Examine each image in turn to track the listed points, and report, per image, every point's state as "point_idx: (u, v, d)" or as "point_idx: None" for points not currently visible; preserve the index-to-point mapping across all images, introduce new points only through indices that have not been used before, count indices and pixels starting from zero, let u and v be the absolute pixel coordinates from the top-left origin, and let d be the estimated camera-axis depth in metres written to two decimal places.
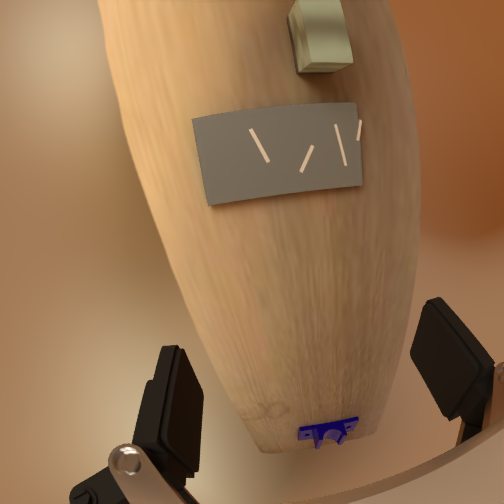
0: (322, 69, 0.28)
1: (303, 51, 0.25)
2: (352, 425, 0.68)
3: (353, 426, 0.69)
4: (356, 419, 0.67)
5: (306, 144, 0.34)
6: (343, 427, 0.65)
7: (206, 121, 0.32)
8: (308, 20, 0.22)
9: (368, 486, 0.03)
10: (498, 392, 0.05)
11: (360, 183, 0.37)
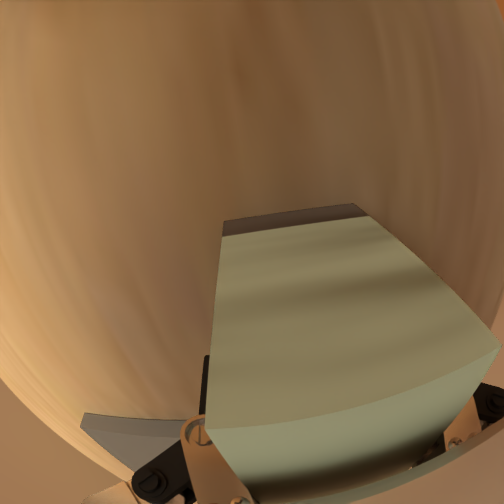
0: None
1: None
2: None
3: None
4: None
5: None
6: None
7: (101, 434, 0.15)
8: (271, 485, 0.05)
9: (368, 486, 0.03)
10: None
11: None
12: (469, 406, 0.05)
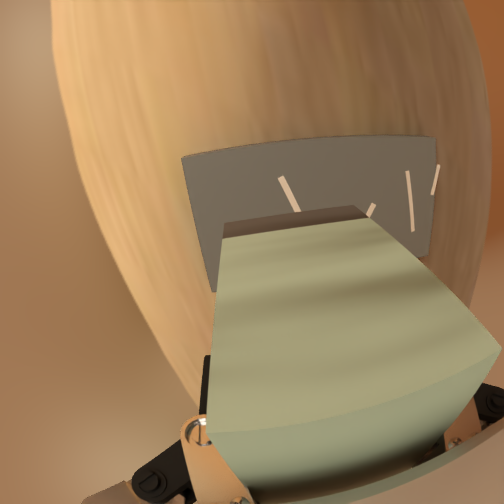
0: None
1: None
2: None
3: None
4: None
5: (365, 202, 0.22)
6: None
7: (206, 162, 0.20)
8: (271, 487, 0.05)
9: (368, 486, 0.03)
10: None
11: (426, 253, 0.24)
12: (469, 406, 0.05)
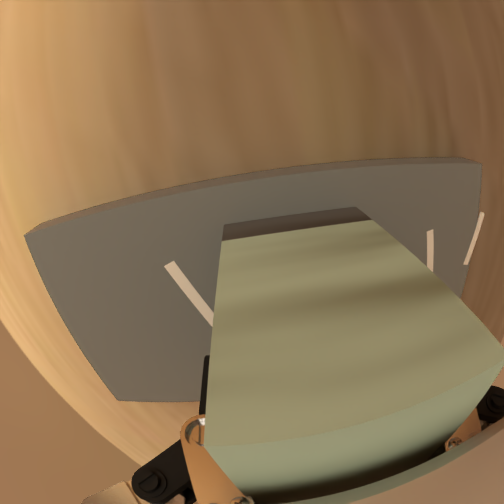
0: None
1: None
2: None
3: None
4: None
5: None
6: None
7: (52, 241, 0.10)
8: (271, 495, 0.04)
9: (368, 486, 0.03)
10: None
11: None
12: None
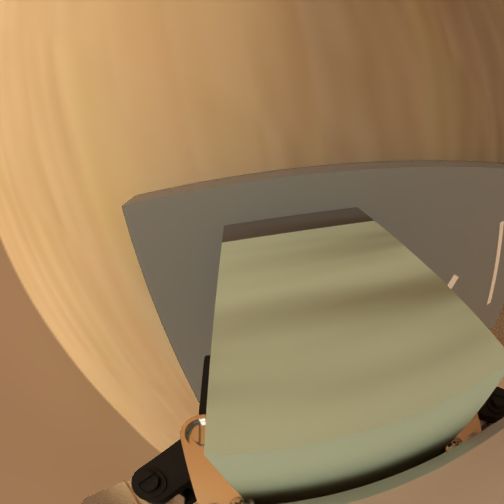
0: None
1: None
2: None
3: None
4: None
5: (446, 275, 0.12)
6: None
7: (170, 215, 0.10)
8: (272, 499, 0.04)
9: (368, 486, 0.03)
10: None
11: (493, 325, 0.14)
12: None
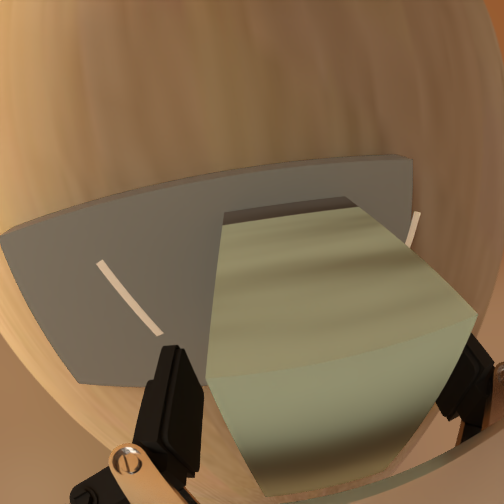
0: None
1: None
2: None
3: None
4: None
5: None
6: None
7: (17, 243, 0.11)
8: (266, 455, 0.05)
9: (368, 486, 0.03)
10: (498, 392, 0.05)
11: None
12: None
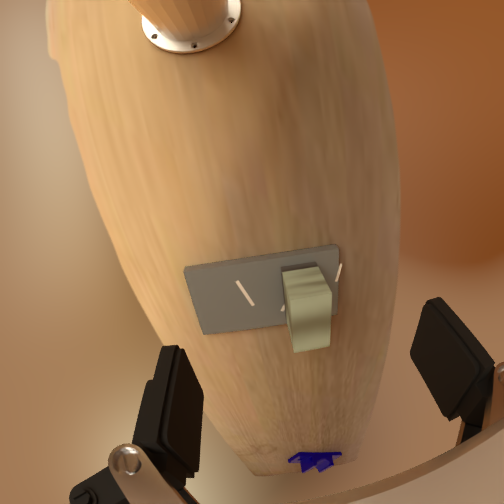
0: None
1: (290, 330, 0.37)
2: (334, 458, 0.75)
3: (333, 459, 0.75)
4: (340, 454, 0.74)
5: None
6: (331, 458, 0.72)
7: (196, 274, 0.39)
8: (296, 322, 0.33)
9: (368, 486, 0.03)
10: (498, 392, 0.05)
11: (335, 313, 0.43)
12: None
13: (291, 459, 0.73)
